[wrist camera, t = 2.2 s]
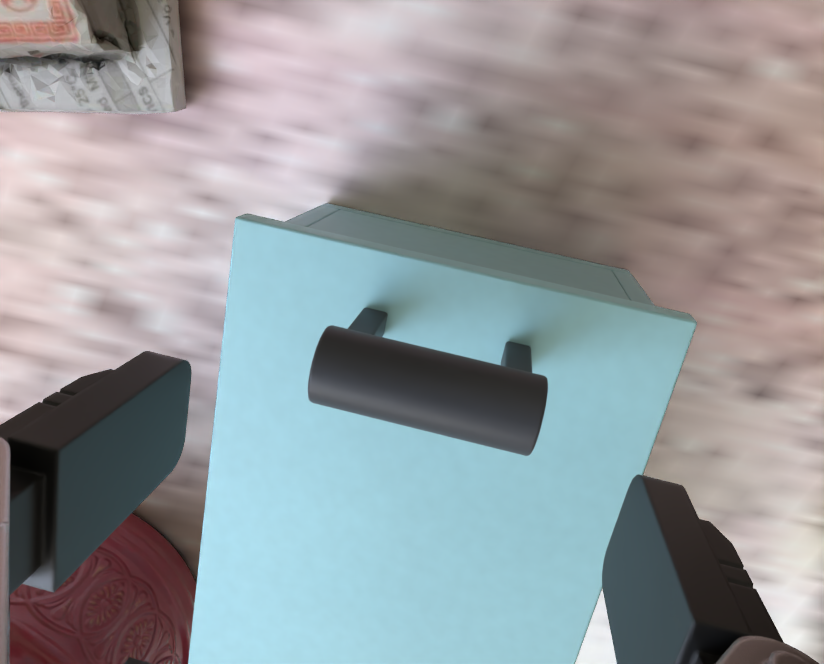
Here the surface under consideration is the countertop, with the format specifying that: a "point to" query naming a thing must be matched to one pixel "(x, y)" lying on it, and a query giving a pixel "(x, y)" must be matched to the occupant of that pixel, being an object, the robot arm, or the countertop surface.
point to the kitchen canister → (110, 606)
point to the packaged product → (91, 56)
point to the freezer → (474, 251)
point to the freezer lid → (417, 454)
